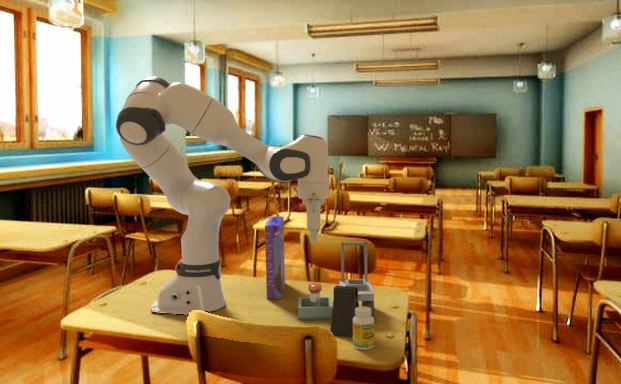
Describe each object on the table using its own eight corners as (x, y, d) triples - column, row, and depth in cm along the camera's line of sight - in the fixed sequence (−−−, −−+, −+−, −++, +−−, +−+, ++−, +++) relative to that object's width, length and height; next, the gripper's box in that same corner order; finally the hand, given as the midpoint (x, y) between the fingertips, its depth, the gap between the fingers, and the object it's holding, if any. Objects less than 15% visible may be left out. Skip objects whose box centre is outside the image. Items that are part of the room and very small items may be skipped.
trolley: (342, 322, 151) (341, 252, 148) (339, 306, 165) (338, 241, 162) (374, 322, 151) (373, 251, 148) (369, 305, 165) (368, 241, 162)
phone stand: (351, 337, 140) (351, 292, 138) (329, 334, 142) (329, 290, 141) (361, 325, 148) (361, 283, 147) (341, 323, 150) (340, 281, 149)
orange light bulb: (321, 313, 156) (321, 287, 155) (308, 314, 156) (308, 287, 155) (321, 309, 160) (321, 283, 159) (308, 309, 160) (308, 283, 159)
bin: (298, 319, 153) (298, 307, 153) (299, 308, 163) (299, 297, 163) (332, 319, 153) (331, 307, 153) (331, 308, 163) (330, 296, 163)
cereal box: (281, 299, 172) (279, 225, 170) (266, 299, 173) (264, 225, 170) (285, 283, 190) (283, 216, 187) (271, 283, 190) (269, 216, 187)
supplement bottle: (364, 340, 138) (364, 303, 137) (378, 346, 134) (378, 309, 133) (348, 345, 135) (348, 308, 134) (362, 352, 131) (362, 314, 129)
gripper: (325, 196, 144) (325, 246, 145) (323, 188, 164) (323, 232, 166) (301, 196, 144) (302, 247, 145) (302, 188, 164) (303, 233, 166)
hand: (313, 239), depth 156 cm, fingers open, 8 cm apart
